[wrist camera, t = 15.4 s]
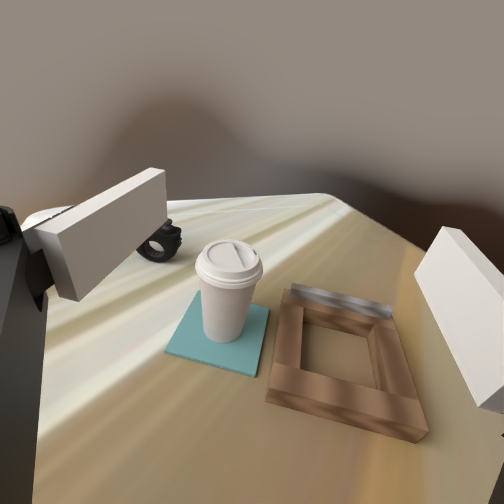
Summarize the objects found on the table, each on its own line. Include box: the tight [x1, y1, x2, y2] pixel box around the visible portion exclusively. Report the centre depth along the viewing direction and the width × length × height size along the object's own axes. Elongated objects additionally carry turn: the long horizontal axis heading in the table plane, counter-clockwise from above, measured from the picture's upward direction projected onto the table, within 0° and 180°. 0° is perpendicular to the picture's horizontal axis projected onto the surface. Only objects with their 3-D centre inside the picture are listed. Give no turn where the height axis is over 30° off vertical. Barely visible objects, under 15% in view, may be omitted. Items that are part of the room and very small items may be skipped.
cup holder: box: [265, 283, 429, 444], centre depth 43 cm, size 20×20×6 cm
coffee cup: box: [195, 239, 263, 343], centre depth 41 cm, size 10×10×15 cm
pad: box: [164, 291, 269, 377], centre depth 46 cm, size 14×14×1 cm
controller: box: [136, 218, 182, 262], centre depth 57 cm, size 4×12×10 cm, turn 84°
